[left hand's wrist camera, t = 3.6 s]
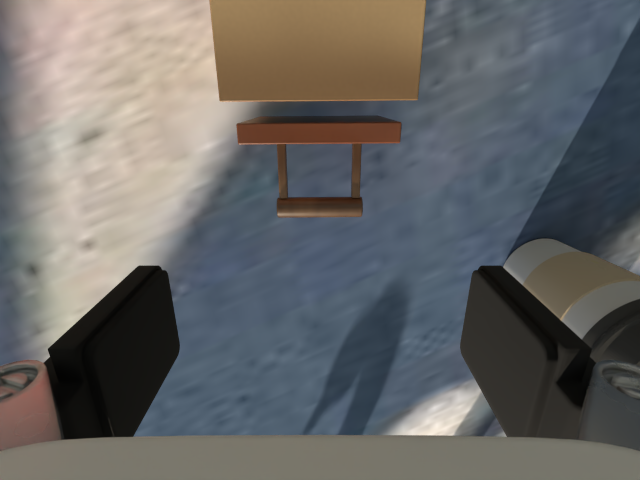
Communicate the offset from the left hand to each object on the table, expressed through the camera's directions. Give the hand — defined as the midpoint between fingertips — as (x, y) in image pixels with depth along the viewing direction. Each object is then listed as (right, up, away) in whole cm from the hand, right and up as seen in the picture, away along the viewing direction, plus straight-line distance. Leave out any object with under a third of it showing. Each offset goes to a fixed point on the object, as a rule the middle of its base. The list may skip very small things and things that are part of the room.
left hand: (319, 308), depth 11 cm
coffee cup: (+21, -1, +25) cm, 32 cm away
